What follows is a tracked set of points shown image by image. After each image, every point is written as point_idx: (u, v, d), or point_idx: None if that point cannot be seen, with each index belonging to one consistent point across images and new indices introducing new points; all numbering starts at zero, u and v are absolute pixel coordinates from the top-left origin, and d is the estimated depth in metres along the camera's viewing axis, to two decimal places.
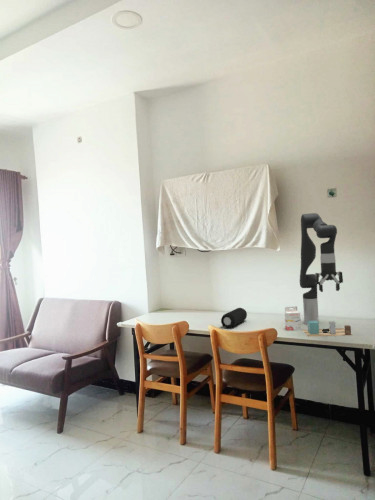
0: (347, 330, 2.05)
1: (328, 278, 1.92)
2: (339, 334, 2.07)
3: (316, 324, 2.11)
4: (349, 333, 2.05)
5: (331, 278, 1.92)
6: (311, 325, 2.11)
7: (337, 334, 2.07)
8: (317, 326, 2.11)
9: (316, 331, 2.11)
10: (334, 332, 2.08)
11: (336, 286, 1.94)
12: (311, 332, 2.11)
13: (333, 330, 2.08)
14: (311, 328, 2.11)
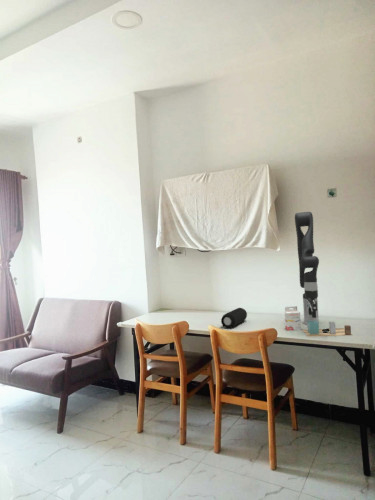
0: (347, 330, 2.05)
1: None
2: (339, 334, 2.07)
3: (316, 324, 2.11)
4: (349, 333, 2.05)
5: None
6: (311, 325, 2.11)
7: (337, 334, 2.07)
8: (317, 326, 2.11)
9: (316, 331, 2.11)
10: (334, 332, 2.08)
11: (310, 311, 2.17)
12: (311, 332, 2.11)
13: (333, 330, 2.08)
14: (311, 328, 2.11)
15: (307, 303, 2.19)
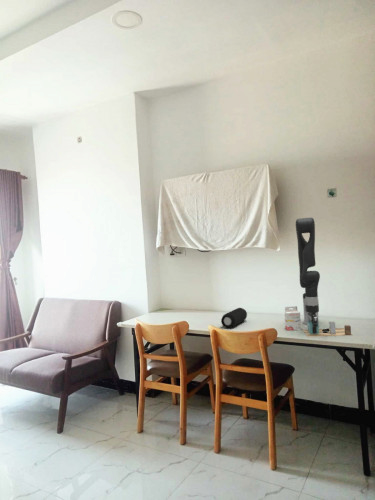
0: (347, 330, 2.05)
1: None
2: (339, 334, 2.07)
3: None
4: (349, 333, 2.05)
5: None
6: (311, 325, 2.11)
7: (337, 334, 2.07)
8: None
9: None
10: (334, 332, 2.08)
11: None
12: (311, 332, 2.11)
13: (333, 330, 2.08)
14: (311, 328, 2.11)
15: (308, 318, 2.19)
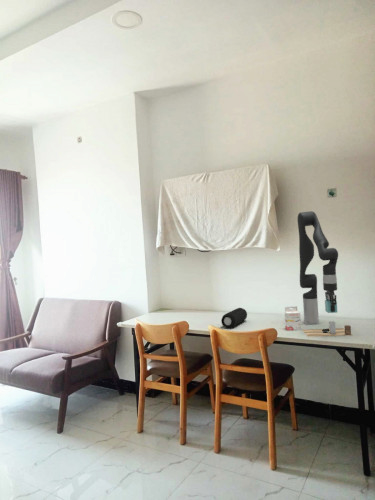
0: (347, 330, 2.05)
1: None
2: (339, 334, 2.07)
3: None
4: (349, 333, 2.05)
5: None
6: (329, 304, 2.06)
7: (337, 334, 2.07)
8: (335, 305, 2.06)
9: None
10: (334, 332, 2.08)
11: None
12: (329, 311, 2.06)
13: (333, 330, 2.08)
14: (329, 307, 2.06)
15: None
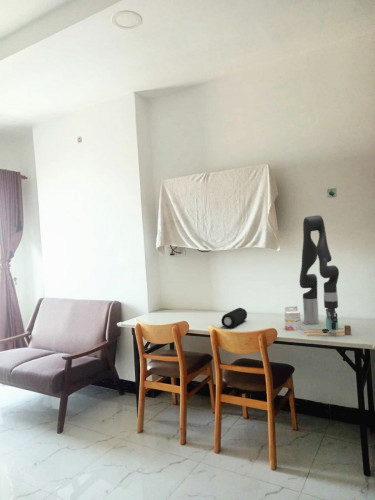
0: (347, 330, 2.05)
1: None
2: (339, 334, 2.07)
3: None
4: (349, 333, 2.05)
5: None
6: (330, 321, 2.06)
7: (337, 334, 2.07)
8: None
9: None
10: (334, 332, 2.08)
11: None
12: (330, 328, 2.06)
13: (333, 330, 2.08)
14: (330, 324, 2.06)
15: None
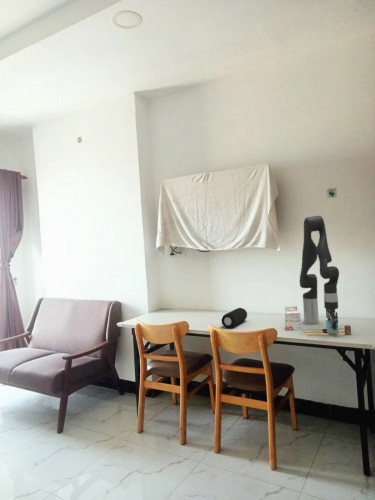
0: (347, 330, 2.05)
1: None
2: (339, 334, 2.07)
3: None
4: (349, 333, 2.05)
5: None
6: (330, 324, 2.06)
7: (337, 334, 2.07)
8: None
9: (335, 330, 2.06)
10: None
11: None
12: (330, 331, 2.07)
13: None
14: (330, 327, 2.06)
15: (326, 314, 2.15)
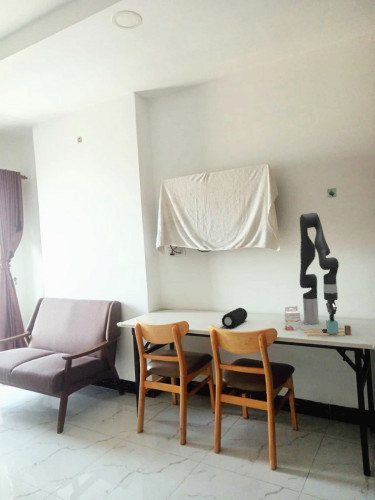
0: (347, 330, 2.05)
1: None
2: (339, 334, 2.07)
3: (335, 323, 2.06)
4: (349, 333, 2.05)
5: None
6: (330, 324, 2.06)
7: (337, 334, 2.07)
8: (336, 325, 2.06)
9: (335, 330, 2.06)
10: None
11: None
12: (330, 331, 2.07)
13: None
14: (330, 327, 2.06)
15: (327, 308, 2.12)
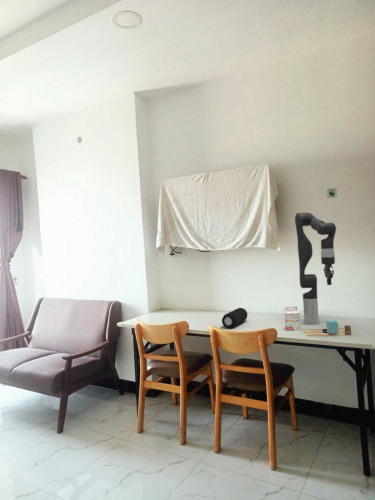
0: (347, 330, 2.05)
1: None
2: (339, 334, 2.07)
3: (335, 323, 2.06)
4: (349, 333, 2.05)
5: None
6: (330, 324, 2.06)
7: (337, 334, 2.07)
8: (336, 325, 2.06)
9: (335, 330, 2.06)
10: None
11: None
12: (330, 331, 2.07)
13: None
14: (330, 327, 2.06)
15: (325, 273, 2.16)
